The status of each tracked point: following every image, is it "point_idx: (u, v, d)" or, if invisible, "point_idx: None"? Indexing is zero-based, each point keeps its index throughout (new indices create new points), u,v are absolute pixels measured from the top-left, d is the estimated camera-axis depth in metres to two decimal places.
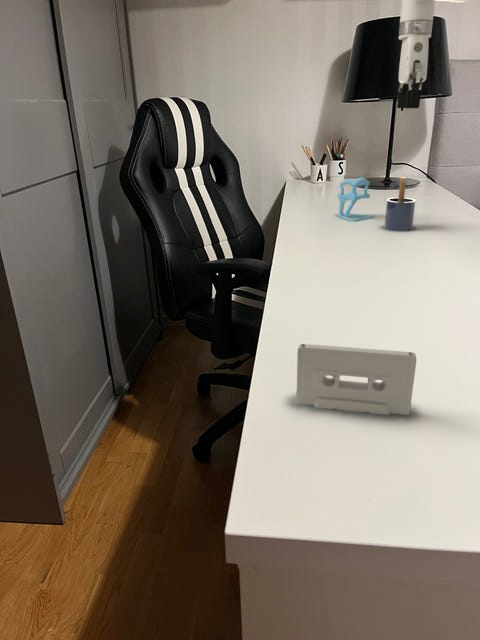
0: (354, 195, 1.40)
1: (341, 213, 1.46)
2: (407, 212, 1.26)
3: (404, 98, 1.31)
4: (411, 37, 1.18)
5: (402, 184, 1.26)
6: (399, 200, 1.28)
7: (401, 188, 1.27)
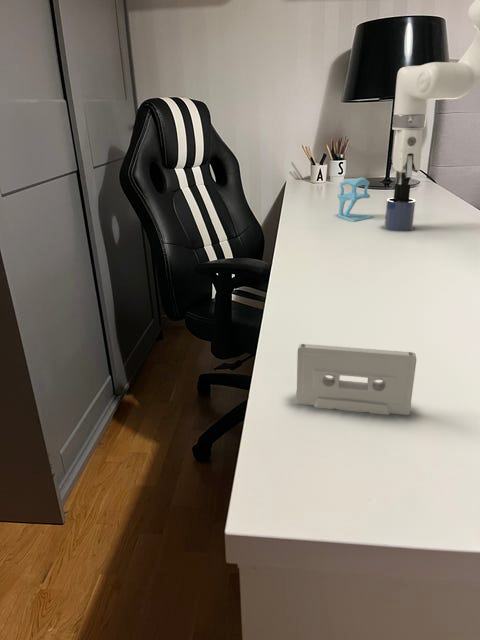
0: (354, 195, 1.40)
1: (341, 213, 1.46)
2: (407, 212, 1.26)
3: None
4: (404, 131, 1.18)
5: None
6: None
7: None
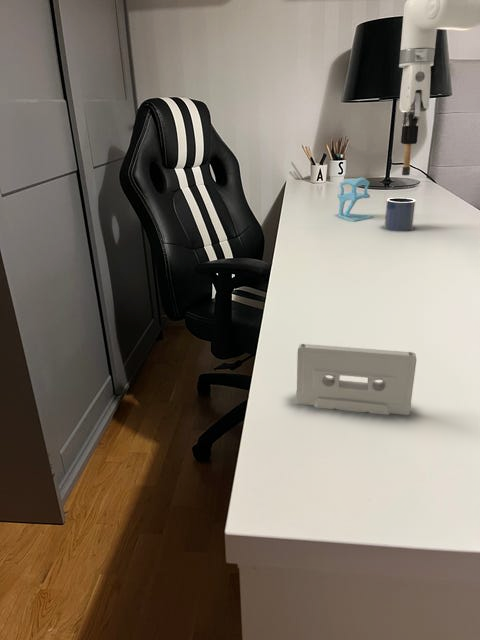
0: (354, 195, 1.40)
1: (341, 213, 1.46)
2: (407, 212, 1.26)
3: None
4: (412, 66, 1.12)
5: None
6: (406, 144, 1.22)
7: None
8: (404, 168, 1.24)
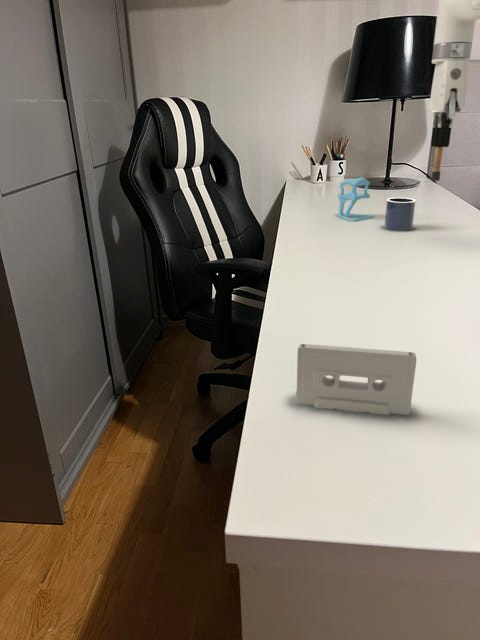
0: (354, 195, 1.40)
1: (341, 213, 1.46)
2: (407, 212, 1.26)
3: None
4: (448, 62, 1.03)
5: None
6: None
7: None
8: (434, 173, 1.14)
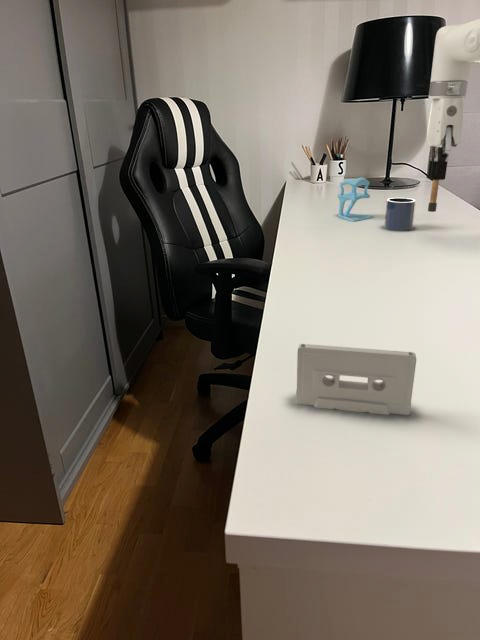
0: (354, 195, 1.40)
1: (341, 213, 1.46)
2: (407, 212, 1.26)
3: None
4: (444, 99, 1.05)
5: None
6: None
7: None
8: (430, 204, 1.17)
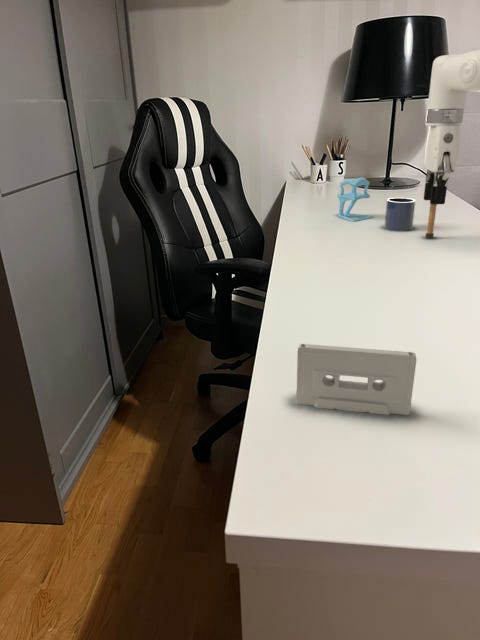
0: (354, 195, 1.40)
1: (341, 213, 1.46)
2: (407, 212, 1.26)
3: None
4: (441, 127, 1.07)
5: None
6: (431, 210, 1.18)
7: None
8: (427, 235, 1.20)
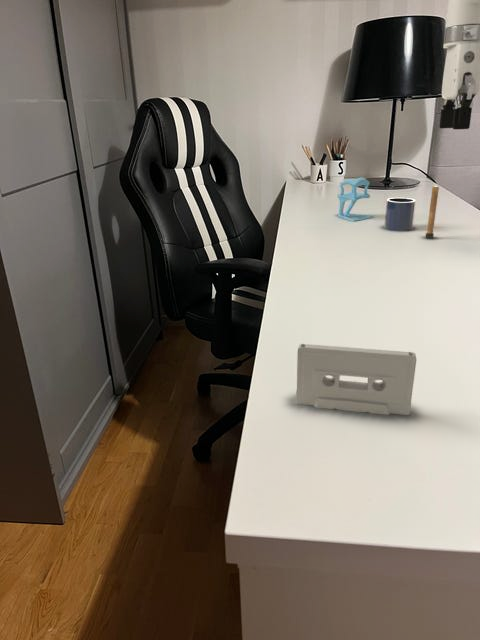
0: (354, 195, 1.40)
1: (341, 213, 1.46)
2: (407, 212, 1.26)
3: (448, 116, 1.11)
4: (460, 45, 0.98)
5: (434, 193, 1.16)
6: (431, 210, 1.18)
7: (433, 197, 1.16)
8: (427, 235, 1.20)
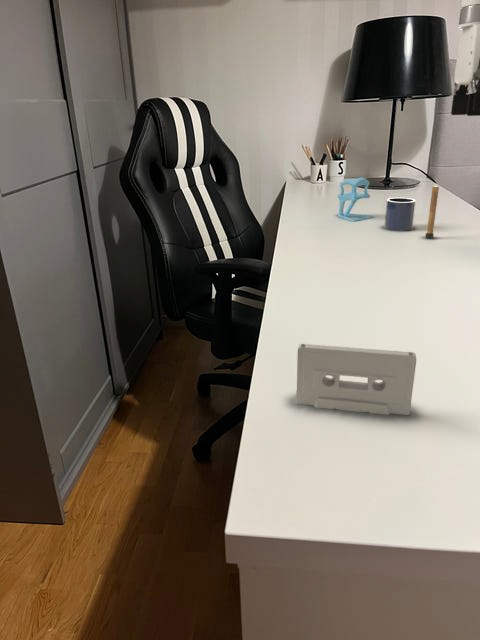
0: (354, 195, 1.40)
1: (341, 213, 1.46)
2: (407, 212, 1.26)
3: (460, 103, 1.05)
4: (477, 26, 0.93)
5: (434, 193, 1.16)
6: (431, 210, 1.18)
7: (433, 197, 1.16)
8: (427, 235, 1.20)
